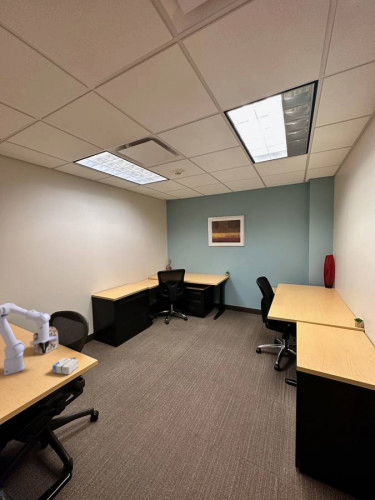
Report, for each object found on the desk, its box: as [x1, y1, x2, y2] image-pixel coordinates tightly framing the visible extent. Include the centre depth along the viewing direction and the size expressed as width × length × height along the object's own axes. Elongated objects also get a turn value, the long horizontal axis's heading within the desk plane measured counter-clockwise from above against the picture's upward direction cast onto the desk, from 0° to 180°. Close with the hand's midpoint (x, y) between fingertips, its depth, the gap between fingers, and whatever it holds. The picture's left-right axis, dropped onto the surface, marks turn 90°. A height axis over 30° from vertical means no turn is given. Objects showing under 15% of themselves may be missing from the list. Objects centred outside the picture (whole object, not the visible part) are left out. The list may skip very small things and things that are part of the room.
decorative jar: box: [32, 326, 59, 355], centre depth 155 cm, size 12×12×18 cm
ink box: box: [52, 357, 79, 375], centre depth 130 cm, size 8×5×12 cm
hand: (44, 352), depth 132 cm, fingers closed
